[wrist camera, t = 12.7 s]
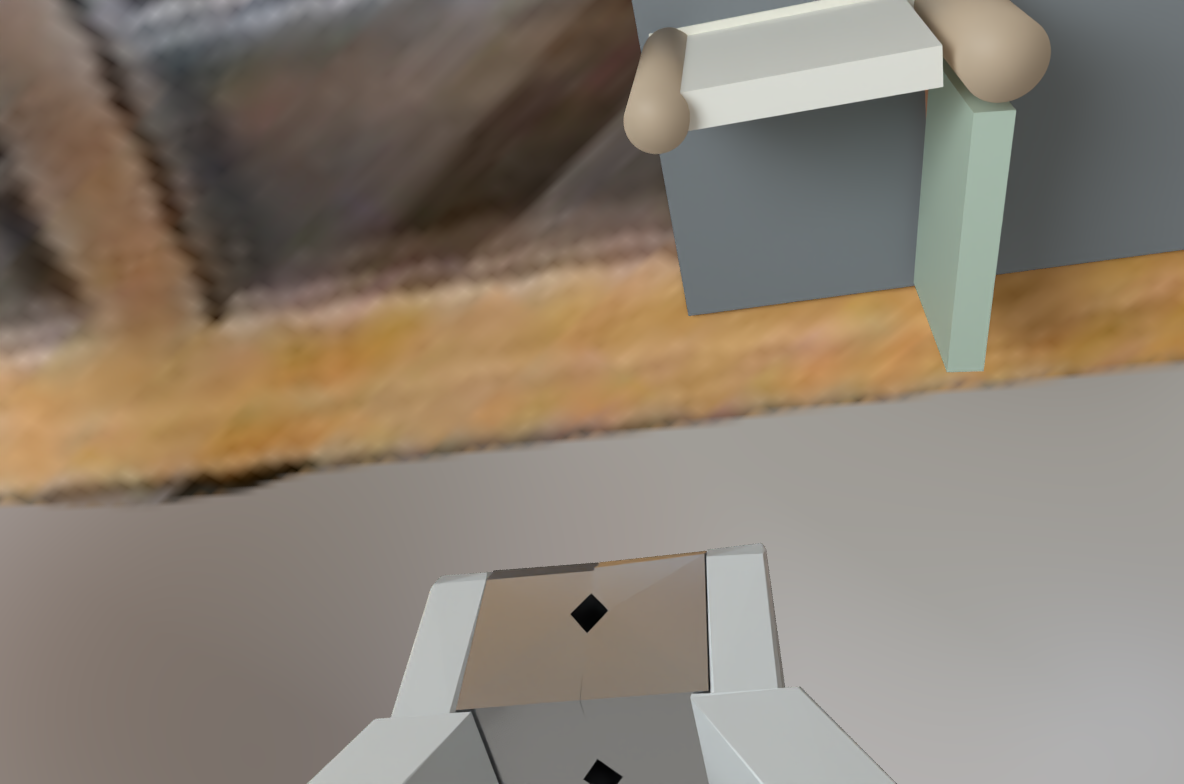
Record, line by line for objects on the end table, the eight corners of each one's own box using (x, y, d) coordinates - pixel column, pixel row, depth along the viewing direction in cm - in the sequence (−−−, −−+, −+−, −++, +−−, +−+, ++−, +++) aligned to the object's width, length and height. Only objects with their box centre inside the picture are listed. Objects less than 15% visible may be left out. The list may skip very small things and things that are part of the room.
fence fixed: (648, 89, 37) (631, 165, 30) (637, 25, 36) (616, 88, 29) (982, 28, 35) (1049, 94, 28) (982, -43, 34) (1052, 7, 26)
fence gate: (930, 54, 35) (973, 112, 29) (966, 51, 34) (1016, 110, 29) (913, 282, 39) (947, 372, 33) (944, 281, 39) (983, 371, 33)
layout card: (688, 312, 42) (688, 317, 42) (623, -55, 35) (622, -54, 34) (1248, 237, 38) (1253, 241, 37) (1314, -205, 30) (1321, -205, 30)
